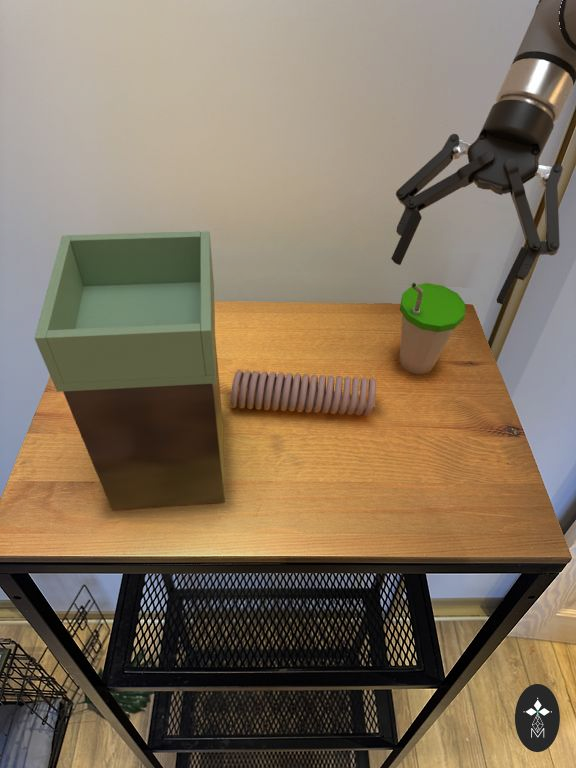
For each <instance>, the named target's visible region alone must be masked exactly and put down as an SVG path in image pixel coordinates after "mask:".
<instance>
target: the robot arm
mask: <svg viewBox="0 0 576 768" xmlns="http://www.w3.org/2000/svg"><path fill="white" fill-rule="evenodd" d="M561 2H562V4H561ZM537 3H538V4H536V6H535V10H534V13H533V16H532V18H531V21H530V23H529V24H528V27H527V29H526V32H525V34H524V36H523V39H522V41H521V43H520V45H519V47H518V49H517V51H516V54H515V56H514V58H513V60H512V63H511V64H510V67H509V68H508V70H507V73H506V75H505V78H504V80H503V82H502V84H501V87H500V88H499V91H498V93H497V95H496V97H495V102H496V103H494V104H493V105H492V106H491V108H490V110H489V112H488V114H487V117H486V119H485V121H484V123H483V126H482V128H481V130H480V132H479V135H478V136H477V138H476V139H475V141H474V142H472V143H469V142H467V141H464V140H462V139H460V136H459V135H458V134H457V133H452V134H450V135H449V137H448V138H447V140H446V142H445V144H444V145H443V147H442V149H441V150H440V151H438V153H436V154H435V155H434V156H433V157H432V158H431V159H430V160H429V161H428V162H426V164H424V165H423V167H421V168H420V169H419V170H418V171H416V172H415V174H413V175H412V176H411V177H410V178H408V180H406V182H405V183H403V185H401V186H400V187H399V188H398V189H397V190H396V192H395V196H396V198H397V200H398V201H399V204H402V206H404V210H403V212H402V215H401V217H400V219H399V222H398V224H397V226H396V234H397V235H398V236H400V238H399V240H398V242H397V244H396V247H395V249H394V252H393V253H392V255H391V257H390V258H391V260H392V262H393V263H394V264H395V265H398V266H401V265H402V262H403V260H404V258H405V255H406V253H407V252H408V249H409V247H410V245H411V242H412V240H413V238H414V236H415V233H416V232H417V229H418V227H419V225H420V223H421V221H422V218H423V217H422V214H421V211H423V210H424V209H426V208H427V207H430V206H432V205H433V204H435V203H437V202H438V201H441V200H442V199H444V198H446V197H448V196H449V195H451V194H453V193H454V192H457V191H458V190H460V189H462V188H466V187H469V186H470V185H471V184H473V183H474V185H475V186H476V187H477V188H478V189H481V190H486V191H487V190H488V191H489V190H490V191H491V192H493V193H494V194H497V195H500V196H503V195H506V194H509V193H510V196H511V201H512V203H513V205H514V207H515V211H516V214H517V217H518V221H519V224H520V227H521V230H522V234H523V237H524V240H525V243H526V246H527V247H524V246H521V247H520V249H519V252H518V254H517V255H516V258H515V260H514V262H513V263H512V266H511V269H510V270H509V272H508V274H507V276H506V279H505V280H504V283H503V285H502V287H501V289H500V291H499V293H498V295H497V297H496V303H497V304H500V305H502V306H503V305H504V303H505V301H506V300H507V298H508V295H509V293H510V291H511V289H512V287H513V285H514V282H515V281H516V279H518V280H521V281H525V280H526V279H527V278H528V277H529V274H530V272H531V270H532V268H533V267H534V264H535V262H536V260H537V258H538V257H539V256H542V255H549V256H555V255H556V254H557V253H558V251H559V248H560V245H561V243H560V220H559V219H560V218H559V217H560V216H559V194H558V193H559V192H558V191H559V190H558V186H559V183H560V181H561V177H562V174H563V165H562V164H560V163H556V164H554V165H552V166H549V165H544V164H539V160H540V158H541V156H542V154H543V151H544V150H545V147H546V145H547V143H548V140H549V139H550V136H551V135H552V133H553V132H552V131H553V130H554V127H555V122H556V121H558V119H559V117H560V115H561V113H562V111H563V109H564V107H565V105H566V102H567V100H568V99H569V96H570V94H571V91H572V89H573V88H574V85H575V84H576V0H563V1H562V0H538V2H537ZM560 6H561V8H560ZM559 11H560V14H559ZM559 22H560V25H559ZM560 28H561V29H560ZM464 155H466V156H467V160H468V163H466V164H465V165H463V166H462V167H460V168H458V170H457V171H456V172H454V173H452V174H450V175H449V176H446V177H445V178H443V179H441V180H440V181H438V182H436V183H435V184H433V185H431V186H430V187H427V188H425V187H426V186H427V185H429V183H431V182H432V181H433V180H434V179H435V178H436V177H437V176H438V175H440V174H441V173H442V172H443V171H444V170H445V169H446V168H447V167H448V166H449V165H450V164H451V163H452V162H453V160H458V159H460V158H461V157H462V156H464ZM535 177H538V178H539V185H540V186H541V187H543V188H544V221H545V240H541V239H540V236H539V233H538V229H537V226H536V223H535V220H534V216H533V214H532V213H533V212H532V210H531V206H530V204H529V200H528V197H527V194H526V189H525V186H524V184H525V183H527V182H529V181H531V180H532V179H534V178H535ZM424 188H425V189H424ZM423 189H424V190H423ZM420 191H421V192H420Z"/></svg>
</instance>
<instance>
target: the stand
mask: <svg viewBox="0 0 576 768" xmlns="http://www.w3.org/2000/svg"><path fill="white" fill-rule="evenodd" d="M216 342H217V339H216V338H215V351H216V383H212V384H194V385H175V386H156V387H138V388H119V389H100V390H82V391H63V392H62V393H63V395H64V397H65V400H66V402H67V404H68V407H69V410H70V412H71V414H72V418H73V420H74V422H75V425H76V427H77V429H78V432H79V434H80V437H81V440H82V441H83V444H84V446H85V449H86V451H87V453H88V457H89V458H90V461H91V463H92V465H93V468H94V471H95V473H96V475H97V478H98V481H99V483H100V485H101V488H102V490H103V493H104V495H105V498H106V501H107V502H108V504H109V507H110V509H111V511H124V510H125V511H126V510H137V509H139V510H140V509H150V508H154V509H155V508H165V507H166V508H167V507H168V508H169V507H182V506H194V505H195V506H196V505H210V504H221V503H223V504H224V503H226V498H225V497H226V491H225V490H226V489H225V461H224V459H225V458H224V427H223V425H224V423H223V408H222V407H223V406H222V398H221V397H222V395H221V385H220V384H221V383H220V374H219V365H218V364H219V363H218V362H219V361H218V352H217V351H218V350H217V343H216Z"/></svg>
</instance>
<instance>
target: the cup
mask: <svg viewBox="0 0 576 768" xmlns="http://www.w3.org/2000/svg"><path fill="white" fill-rule="evenodd" d="M399 311H400V312H401V314H402V319H401V334H400V346H399V347H400V348H399V361H398V362H399V363H398V364H400V366H401V368H402V369H403V370H404V371H406V372H407V373H409V374H412V375H416V376H417V375H418V376H420V375H421V376H422V375H426V374H429V373H430V372H431V371H432V370H433V369H434V367H435V365H436V363H437V361H438V360H439V358H440V357H441V354H442V352H443V351H444V349H445V348H446V346H447V343H448V342H449V340H450V338H451V336H452V335H453V333H454V331H455V329H456V328H457V327H458V326H459V325H461V324H462V323H463V321H464V320H465V317H466V303H465V301H464V300H463V299H462V297H461V296H460V295H459V293H458V292H456V291H455V290H452V289H450V288H448V287H446V286H444V285H442V284H441V285H440V284H434V283H429V282H425V283H420V284H417V283H415V282H413V283H411V286H410V287H409V288H407V289H406V290H405V291H404V292H403V293H402V295H401V300H400V306H399Z"/></svg>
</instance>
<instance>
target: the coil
mask: <svg viewBox="0 0 576 768" xmlns="http://www.w3.org/2000/svg"><path fill="white" fill-rule="evenodd" d="M351 384H352V385H351ZM376 393H377V380H376V378H375V377H370V379H368V378H367V377H366V376H365V377H364V376H363V377H361V379H359V377H358V376H354V377H353V378H351V376H349V375H348V376H345V377H344V380H343V377H342V376H341V375H337V376H336V378H335V377H334V375H332V374H331V375H328V376H327V377H326V375H325V374H321V375H320V376H319V378H318V375H317V374H316V373H315V374H312V375H311V377H310V375H309V374H308V373H303V375H301V374H300V373H295V374H294V375H293V374H292V372H287V373H286V374H285V373H284V372H279V373H277V372H275V371H271V372H270V373H268V372H267V371H266V370H263V371H262V372H259V371H258V370H254V371H253V372H252V371H251V370H249V369H247V370H245V371H243V369H237V370H236V371H235V373H234V376H233V380H232V385H231V391H230V401H229V402H230V407H231V408H232V409H235V408H237V406H238V408H240V409H245V407H246V408H247V409H248V410H251V409H253V408H254V407H255V409H256V410H261V409H262V408H263V409H264V410H265V411H268V410H270V409H272V410H273V411H278V409H280V411H283V412H285V411H286V410H287V409H288V411H289V412H294V411H295V410H296V411H297V412H299V413H302V412H303V411H305V412H306V413H311V412H312V411H313V412H314V413H315V414H318V413H320V411H321V413H323V414H328V413H330V414H332V415H335V414H337V413H338V414H339V415H345V413H346V414H347V415H348V416H352V415H353V414H354V415H355V416H357V417H358V416H361V415H363V416H364V417H369V416H370V415H371V414H372V412H373V411H375V410H376V409H377V408H376V401H375V400H376ZM367 395H368V396H367ZM254 404H255V405H254Z"/></svg>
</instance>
